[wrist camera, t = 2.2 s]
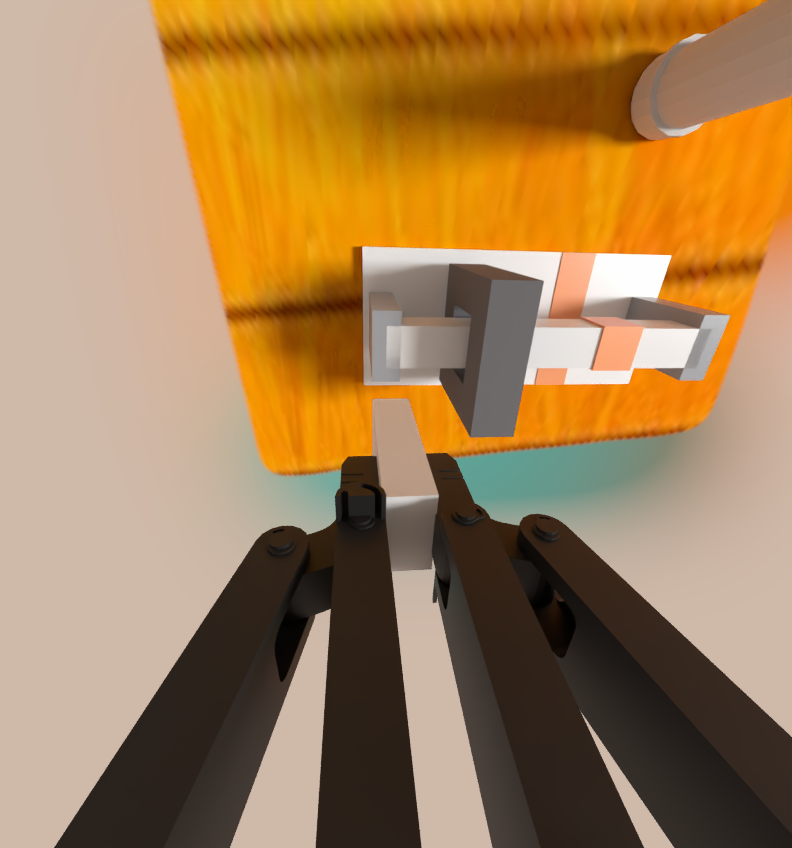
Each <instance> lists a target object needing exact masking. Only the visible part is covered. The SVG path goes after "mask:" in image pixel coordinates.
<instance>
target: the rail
mask: <svg viewBox="0 0 792 848" xmlns="http://www.w3.org/2000/svg"><path fill="white" fill-rule="evenodd" d="M670 258H671V256H669V255H644V254H610V253H576V252H542V251H507V250H473V249H439V248H404V247H370V246H362V262H363V361H364V385H442V384H441V382H440V380H439V376H440V368H465V366H466V358H467V349H468V341H469V332H470V324H471V318H445V307H446V296H447V284H448V273H449V263H452V264H486V265H489V266H493V267H496V268H500V269H504V270H507V271H511V272H514V273H518V274H521V275H525V276H528V277H532V278H536V279H539V280H543V281H544V284H543V289H542V294H541V299H540V304H539V309H538V314H537V319H536V324H535V329H534V334H533V340H532V345H531V350H530V355H529V360H528V365H527V370H526V375H525V380H524V384H535V385H564V384H629V381H630V378H631V375H632V372H633V369H634V368H654V369H656V370H658V371H661V372H663V373H665V374H667V375H669V376H671V377H673V378H675V379H678V380H703V378H704V376H705V374H706V371H707V369H708V367H709V364H710V362H711V360H712V357H713V355H714V353H715V350H716V348H717V346H718V343H719V341H720V339H721V336H722V334H723V332H724V329H725V327H726V325H727V322H728V320H729V318H730V315H727V314H722V313H718V312H714V311H710V310H705V309H701V308H697V307H692V306H688V305H684V304H680V303H675V302H671V301H667V300H662V299H658V298H657V297H658V294H659V291H660V288H661V285H662V282H663V279H664V276H665V273H666V270H667V267H668V264H669V261H670Z"/></svg>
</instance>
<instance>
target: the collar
mask: <svg viewBox="0 0 792 848" xmlns="http://www.w3.org/2000/svg"><path fill="white" fill-rule="evenodd" d="M543 284H544V281H543V280H539V279H536V278H532V277H528V276H525V275H521V274H518V273H514V272H511V271H507V270H504V269H500V268H496V267H493V266H489V265H486V264H452V263H449V273H448V284H447V296H446V307H445V318H471V324H470V332H469V341H468V349H467V358H466V366H465V368H440V376H439V380H440V382H441V384H442V386H443V388H444V389H445V391H446V393H447V395H448V397H449V399H450V401H451V402H452V404H453V406H454V408H455V410H456V412H457V413H458V415H459V417H460V419H461V421H462V423H463V425H464V426H465V428H466V430H467V432H468V434H469V436H470V437H513V436H514V431H515V425H516V420H517V415H518V410H519V405H520V400H521V395H522V390H523V385H524V380H525V375H526V370H527V365H528V360H529V355H530V350H531V345H532V340H533V334H534V329H535V324H536V319H537V314H538V309H539V304H540V299H541V294H542V289H543Z"/></svg>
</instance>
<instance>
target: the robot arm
mask: <svg viewBox="0 0 792 848" xmlns="http://www.w3.org/2000/svg"><path fill="white" fill-rule="evenodd" d="M335 505H336V520H335V521H334V522H333V523H332V524H331V525H330V526H329V527H327V528H325V529H323V530H321V531H318V532H315V533H312V534H309V535H307V534H306V533H305V532H304V531H303V530H302V529H300V528H297V527H294V526H280V527H277V528H273V529H270V530H269V531H267V532H265V533H263V534H262V535H261V536H260V537H259V538H258V539H257V540H256V541H255V543H254V545H253V546H252V548H251V549H250V551H249V552H248V554H247V555H246V557H245V558H244V560H243V562H242V563H241V564H240V566H239V567H238V569H237V571H236V572H235V573H234V575H233V576H232V578H231V580H230V581H229V583H228V584H227V586H226V587H225V589H224V590H223V592H222V593H221V595H220V596H219V598H218V599H217V601H216V602H215V604H214V606H213V607H212V608H211V610H210V611H209V613H208V615H207V616H206V618H205V619H204V621H203V622H202V624H201V625H200V627H199V628H198V630H197V631H196V633H195V634H194V636H193V637H192V639H191V640H190V642H189V643H188V645H187V646H186V648H185V649H184V651H183V653H182V654H181V656H180V657H179V659H178V660H177V662H176V663H175V665H174V666H173V668H172V669H171V671H170V672H169V674H168V675H167V677H166V678H165V680H164V681H163V683H162V684H161V686H160V688H159V689H158V691H157V692H156V694H155V695H154V697H153V698H152V700H151V701H150V703H149V705H148V706H147V707H146V709H145V710H144V712H143V713H142V715H141V717H140V718H139V719H138V721H137V723H136V724H135V726H134V727H133V729H132V730H131V732H130V733H129V735H128V736H127V738H126V739H125V741H124V742H123V744H122V745H121V747H120V748H119V750H118V752H117V753H116V754H115V756H114V758H113V759H112V761H111V762H110V764H109V765H108V767H107V768H106V770H105V771H104V773H103V775H102V776H101V777H100V779H99V781H98V782H97V783H96V785H95V786H94V788H93V789H92V791H91V792H90V794H89V796H88V797H87V799H86V800H85V802H84V803H83V805H82V806H81V808H80V809H79V811H78V812H77V814H76V815H75V817H74V818H73V820H72V822H71V823H70V825H69V826H68V828H67V829H66V831H65V832H64V834H63V835H62V837H61V838H60V840H59V841H58V843H57V845H56V846H55V847H54V848H230V846H231V843H232V840H233V837H234V835H235V832H236V830H237V827H238V824H239V821H240V819H241V816H242V813H243V810H244V808H245V805H246V803H247V800H248V797H249V794H250V792H251V789H252V786H253V784H254V781H255V778H256V776H257V773H258V770H259V767H260V765H261V762H262V759H263V756H264V754H265V751H266V748H267V746H268V743H269V740H270V737H271V735H272V732H273V730H274V727H275V724H276V721H277V719H278V716H279V713H280V711H281V708H282V705H283V703H284V700H285V697H286V695H287V692H288V689H289V686H290V684H291V681H292V678H293V676H294V673H295V670H296V668H297V665H298V662H299V659H300V656H301V654H302V651H303V648H304V646H305V643H306V641H307V638H308V635H309V632H310V630H311V627H312V624H313V622H314V618H315V615H316V614H318V613H321V612H324V611H326V610H329V609H331V614H330V631H329V646H328V662H327V678H326V693H325V709H324V725H323V741H322V756H321V774H320V788H319V789H320V790H319V804H318V819H317V836H316V848H421V839H420V830H419V820H418V812H417V802H416V793H415V784H414V776H413V775H414V774H413V765H412V756H411V747H410V737H409V729H408V720H407V710H406V701H405V692H404V682H403V673H402V664H401V655H400V645H399V637H398V627H397V618H396V608H395V599H394V590H393V581H392V572H391V571H406V570H424V569H431V567H432V558H433V560H434V564H435V569H436V570H435V580H434V589H433V603H436V601H437V597H438V602H439V606H440V611H441V615H442V620H443V625H444V629H445V634H446V638H447V643H448V647H449V652H450V656H451V661H452V665H453V670H454V674H455V679H456V684H457V688H458V693H459V697H460V702H461V706H462V711H463V716H464V719H465V725H466V729H467V733H468V738H469V743H470V747H471V752H472V756H473V761H474V765H475V770H476V775H477V779H478V783H479V788H480V793H481V797H482V801H483V806H484V810H485V815H486V820H487V824H488V829H489V833H490V838H491V843H492V847H493V848H644V847H643V845H642V843H641V840H640V838H639V836H638V834H637V832H636V830H635V827H634V825H633V823H632V821H631V819H630V817H629V815H628V813H627V810H626V808H625V807H624V804H623V802H622V800H621V797H620V795H619V793H618V791H617V789H616V787H615V785H614V782H613V780H612V778H611V776H610V774H609V772H608V770H607V768H606V765H605V763H604V761H603V759H602V757H601V755H600V752H599V750H598V748H597V746H596V744H595V742H594V740H593V737H592V735H591V733H590V731H589V729H588V727H587V725H586V723H585V721H584V718H583V716H582V714H583V715H584V717H585V718H586V719H587V721H588V722H589V724H590V725H591V727H592V728H593V730H594V731H595V733H596V734H597V735H598V737H599V739H600V740H601V741H602V743H603V744H604V746H605V747H606V749H607V750H608V752H609V753H610V754H611V756H612V757H613V759H614V760H615V762H616V763H617V765H618V766H619V767H620V769H621V771H622V772H623V774H624V775H625V776H626V778H627V779H628V781H629V782H630V784H631V785H632V787H633V788H634V789H635V791H636V792H637V794H638V795H639V797H640V798H641V800H642V801H643V803H644V804H645V806H646V807H647V808H648V810H649V811H650V813H651V814H652V816H653V817H654V819H655V820H656V822H657V823H658V824H659V826H660V827H661V829H662V830H663V832H664V833H665V835H666V836H667V838H668V839H669V841H670V842H671V843H672V845H673V846H674V848H792V737H791V736H790V735H789V734H788V733H787V732H786V731H785V730H784V729H783V728H781V727H780V726H779V725H778V724H777V723H776V722H775V721H774V720H773V719H772V718H771V717H770V716H769V715H768V714H766V713H765V712H764V711H763V710H762V709H761V708H760V707H759V706H758V705H757V704H756V703H755V702H754V701H753V700H752V699H751V698H749V697H748V696H747V695H746V694H745V693H744V692H743V691H742V690H741V689H740V688H739V687H738V686H737V685H735V684H734V683H733V682H732V681H731V680H730V679H729V678H728V677H727V676H726V675H725V674H724V673H723V672H722V671H721V670H720V669H719V668H717V667H716V666H715V665H714V664H713V663H712V662H711V661H710V660H709V659H708V658H707V657H706V656H704V654H702V653H701V652H700V651H699V650H698V649H697V648H696V647H695V646H694V645H693V644H692V643H691V642H690V641H689V640H688V639H687V638H685V637H684V636H683V635H682V634H681V633H680V632H679V631H678V630H677V629H676V628H675V627H674V626H673V625H672V624H671V623H669V622H668V621H667V620H666V619H665V618H664V617H663V616H662V615H661V614H660V613H659V612H658V611H657V610H656V609H655V608H653V607H652V606H651V605H650V604H649V603H648V602H647V601H646V600H645V599H644V598H643V597H642V596H641V595H640V594H639V593H637V592H636V591H635V590H634V589H633V588H632V587H631V586H630V585H629V584H628V583H627V582H626V581H625V580H624V579H623V578H621V577H620V576H619V575H618V574H617V573H616V572H615V571H614V570H613V569H612V568H611V567H610V566H609V565H608V564H606V563H605V562H604V561H603V560H602V559H601V558H600V557H599V556H598V555H597V554H596V553H595V552H594V551H593V550H591V548H589V547H588V546H587V545H586V544H585V543H584V542H583V541H582V540H581V539H580V538H579V537H577V535H575V534H574V533H573V532H572V531H571V530H570V529H569V528H568V527H567V526H566V525H564V524H563V523H562V522H560V521H559V520H557V519H555V518H553V517H550V516H547V515H542V514H531V515H528V516H526V517H524V518H523V519H522V520H521V522H520V525H519V526H518V525H512V524H507V523H502V522H498V521H495V520H493V519H490V517H489V515H488V513H487V512H486V511H485V509H483V508H482V507H480V506H479V505H477V504H475V503H474V501H473V499H472V496H471V494H470V492H469V490H468V487H467V485H466V483H465V480H464V479H463V476H462V473H461V472H460V469H459V467H458V464H457V462H456V460H454V459H453V458H452V457H451V456H450V455H448V454H447V453H433V454H426V453H425V450H424V447H423V444H422V441H421V437H420V434H419V431H418V428H417V425H416V422H415V418H414V415H413V412H412V409H411V406H410V402H409V399H373V456H353V457H348V458H347V459H346V460H345V461H344V463H343V464H342V469H341V486H340V489H339V490H338V491H337V493H336V496H335ZM579 709H580V710H579ZM580 711H581V712H582V714H581V712H580Z"/></svg>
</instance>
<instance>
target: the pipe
mask: <svg viewBox="0 0 792 848" xmlns="http://www.w3.org/2000/svg"><path fill="white" fill-rule="evenodd" d="M790 96H792V0H768V1H766V2H764V3H763V4H761V5H759V6H757V7H755V8H754V9H752V10H750V11H748V12H746V13H745V14H743V15H741V16H739V17H737V18H736V19H734V20H732V21H730V22H728V23H727V24H725V25H723V26H721V27H719V28H718V29H716V30H714V31H712V32H710V33H709V34H695V35H692V36H690V37H688V38H686V39H684V40H682V41H680V42H678V43H677V44H675V45H673V46H672V47H671V48H670V49H669V50H668V51H667V52H665V53H664V54H662V55H660V56H658V57H657V58H656V59H655V60H654V61H653V62H652V63H651V64H650V65H649V66H648V67H647V68H646V69H645V70H644V72H643V73H642V75H641V77H640V79H639V81H638V83H637V85H636V86H635V88H634V92H633V97H632V101H631V118H632V122H633V124H634V126H635V128H636V130H637V132H638V133H639V134H641V135H642V136H644V137H645V138H647V139H648V140H663V139H666V138H669V137H680V136H683V135H686V134H688V133H690V132H692V131H694V130H696V129H698V128H699V127H700V126H701V125H702V124H703V123H705V122H708V121H711V120H714V119H718V118H721V117H724V116H728V115H731V114H734V113H737V112H741V111H744V110H747V109H751V108H754V107H757V106H760V105H764V104H767V103H770V102H773V101H777V100H780V99H783V98H787V97H790Z"/></svg>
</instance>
